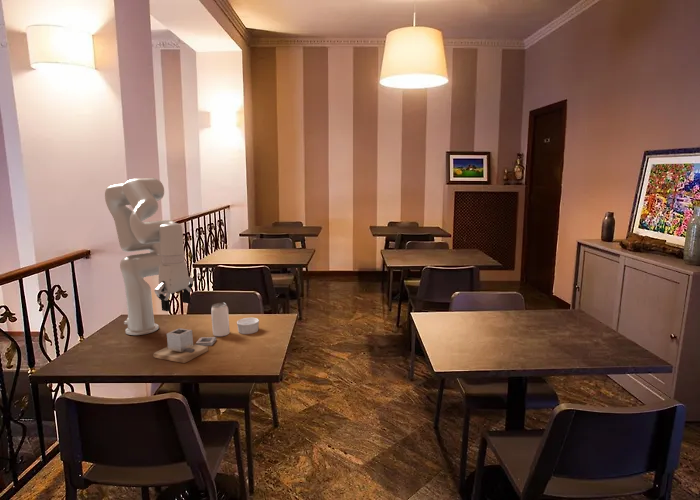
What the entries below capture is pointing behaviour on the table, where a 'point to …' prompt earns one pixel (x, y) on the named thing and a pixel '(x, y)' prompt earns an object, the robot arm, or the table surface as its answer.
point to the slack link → (211, 339)
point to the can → (220, 319)
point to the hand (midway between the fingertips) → (176, 306)
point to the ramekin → (248, 325)
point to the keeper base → (181, 353)
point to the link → (180, 340)
